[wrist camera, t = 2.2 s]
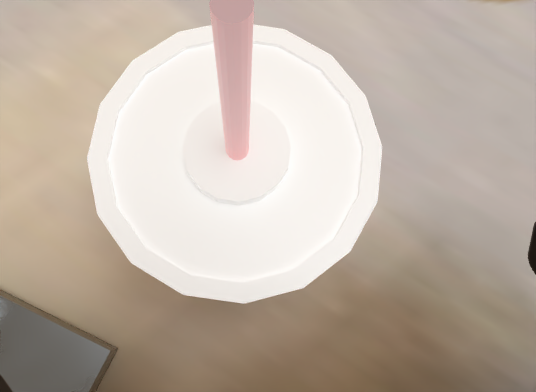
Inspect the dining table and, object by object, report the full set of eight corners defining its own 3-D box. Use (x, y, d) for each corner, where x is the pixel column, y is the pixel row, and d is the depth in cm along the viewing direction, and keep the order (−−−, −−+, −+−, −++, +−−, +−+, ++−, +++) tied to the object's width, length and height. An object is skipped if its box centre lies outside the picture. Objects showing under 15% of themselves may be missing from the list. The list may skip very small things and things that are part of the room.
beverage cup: (161, 310, 18) (-104, 319, 4) (160, 153, 19) (-43, -224, 6) (324, 300, 18) (565, 279, 5) (312, 147, 20) (468, -220, 6)
